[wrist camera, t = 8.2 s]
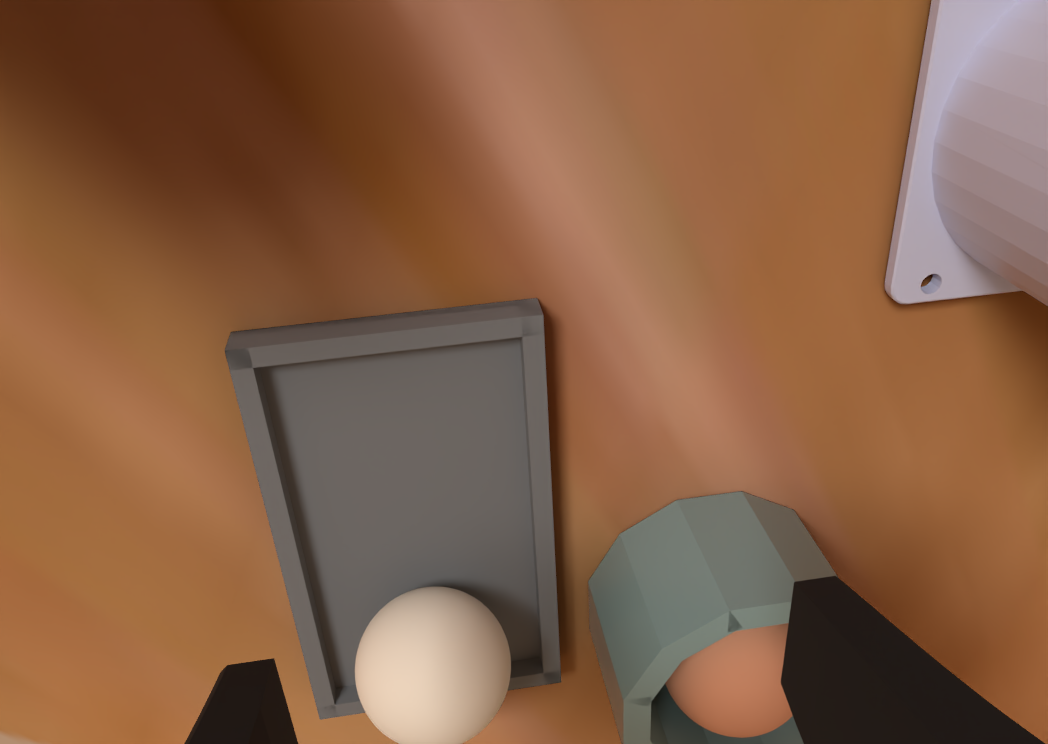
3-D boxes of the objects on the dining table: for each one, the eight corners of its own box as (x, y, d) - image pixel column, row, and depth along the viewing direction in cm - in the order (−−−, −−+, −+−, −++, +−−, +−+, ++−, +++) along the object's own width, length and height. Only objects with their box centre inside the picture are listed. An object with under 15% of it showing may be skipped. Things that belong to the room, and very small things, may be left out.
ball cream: (496, 545, 23) (516, 660, 20) (505, 649, 25) (525, 771, 22) (345, 565, 23) (339, 687, 19) (368, 670, 25) (365, 797, 21)
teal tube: (828, 479, 24) (907, 584, 21) (802, 653, 28) (866, 769, 24) (586, 512, 24) (623, 626, 20) (590, 686, 27) (622, 810, 23)
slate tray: (537, 297, 20) (543, 314, 19) (555, 658, 26) (561, 682, 25) (230, 332, 20) (224, 350, 19) (321, 694, 25) (319, 719, 25)
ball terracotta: (740, 527, 24) (804, 636, 20) (795, 608, 26) (861, 720, 22) (617, 599, 24) (659, 717, 21) (679, 673, 26) (727, 792, 23)
